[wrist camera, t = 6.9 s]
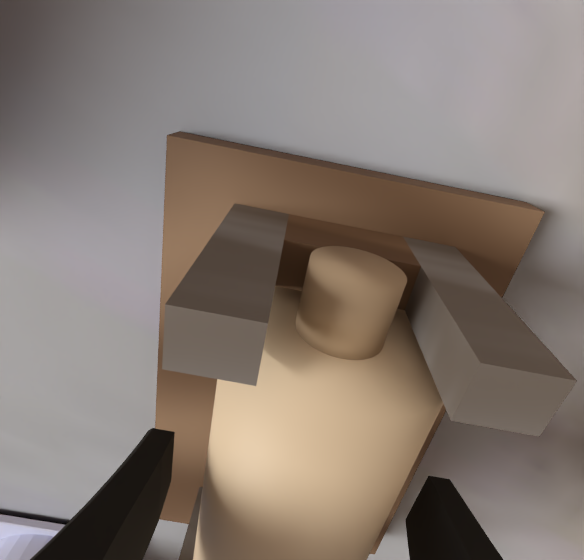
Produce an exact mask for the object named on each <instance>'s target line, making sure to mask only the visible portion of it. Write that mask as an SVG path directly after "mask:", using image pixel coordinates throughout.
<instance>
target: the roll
mask: <svg viewBox="0 0 584 560" xmlns="http://www.w3.org/2000/svg"><path fill="white" fill-rule="evenodd" d="M406 283H407V277H406V275H405V273H404V272H403V271H402V270H401V269H400V268H399V267H398V266H396V265H395V264H393V263H392V262H390V261H388V260H386V259H384V258H382V257H380V256H378V255H375V254H373V253H370V252H367V251H363V250H359V249H355V248H350V247H342V246H326V247H321V248H318V249H315V250H314V251H313V252H312V253H311V255H310V259H309V263H308V268H307V272H306V276H305V280H304V285H303V289H302V291H300V290H295V289H290V288H284V287H279V286H275V290H274V295H273V300H272V306H271V311H270V316H269V321H268V327H267V332H266V337H265V342H264V348H263V353H262V358H261V363H260V368H259V374H258V379H257V384H256V386H253V385H247V384H242V383H236V382H231V381H225V380H219V379H217V385H216V393H215V400H214V408H213V415H212V422H211V430H210V437H209V445H208V452H207V459H206V467H205V474H204V482H203V489H202V496H201V504H200V511H199V519H198V526H197V533H196V541H195V548H194V555H193V560H367V558H368V556H369V554H370V552H371V550H372V548H373V546H374V544H375V542H376V540H377V537H378V535H379V533H380V531H381V529H382V527H383V525H384V523H385V521H386V519H387V517H388V515H389V513H390V511H391V509H392V507H393V505H394V503H395V501H396V499H397V497H398V495H399V493H400V491H401V489H402V487H403V485H404V483H405V481H406V479H407V477H408V475H409V472H410V470H411V468H412V466H413V464H414V462H415V460H416V458H417V456H418V454H419V452H420V450H421V448H422V446H423V444H424V442H425V440H426V438H427V436H428V434H429V432H430V430H431V428H432V426H433V424H434V422H435V420H436V418H437V416H438V414H439V412H440V410H441V407H442V405H443V401H442V399H441V396H440V394H439V391H438V389H437V387H436V384H435V382H434V379H433V377H432V375H431V372H430V370H429V367H428V365H427V363H426V360H425V358H424V355H423V353H422V351H421V348H420V346H419V343H418V341H417V339H416V336H415V334H414V332H413V329H412V327H411V324H410V322H409V320H408V317H407V315H406V312H405V310H400V309H397V308H398V305H399V302H400V299H401V297H402V294H403V291H404V289H405V286H406Z"/></svg>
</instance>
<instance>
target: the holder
mask: <svg viewBox="0 0 584 560" xmlns="http://www.w3.org/2000/svg"><path fill="white" fill-rule="evenodd" d="M544 213H545V212H544V211H542V210H540V209H538V208H536V207H534V206H532V205H530V204H528V203H527V202H523V201H518V200H513V199H508V198H503V197H498V196H493V195H488V194H484V193H479V192H474V191H469V190H464V189H459V188H454V187H449V186H444V185H439V184H435V183H430V182H425V181H420V180H415V179H410V178H405V177H400V176H395V175H390V174H386V173H381V172H376V171H371V170H366V169H361V168H356V167H351V166H346V165H341V164H337V163H332V162H327V161H322V160H317V159H312V158H307V157H302V156H297V155H292V154H288V153H283V152H278V151H273V150H268V149H263V148H258V147H253V146H248V145H243V144H238V143H234V142H229V141H224V140H219V139H214V138H209V137H204V136H199V135H194V134H189V133H185V132H180V131H179V132H176V133H173V134H170V135H167V151H166V175H165V200H164V225H163V249H162V274H161V298H160V323H159V348H158V372H157V397H156V421H155V429H161V430H167V431H172V432H175V436H174V450H173V464H172V478H171V483H170V486H169V489H168V493H167V496H166V499H165V502H164V506H163V509H162V512H161V515H160V518H159V519H162V520H168V521H174V522H180V523H186V524H189V525H188V529H187V532H186V536H185V539H184V543H183V546H182V550H181V553H180V557H179V560H193V555H194V548H195V541H196V533H197V526H198V519H199V511H200V504H201V496H202V489H203V482H204V474H205V467H206V459H207V452H208V445H209V437H210V430H211V422H212V415H213V408H214V400H215V393H216V385H217V379H219V380H225V381H231V382H236V383H242V384H247V385H253V386H256V384H257V379H258V374H259V368H260V363H261V358H262V353H263V348H264V342H265V337H266V332H267V327H268V321H269V316H270V311H271V306H272V300H273V295H274V290H275V286H279V287H284V288H290V289H295V290H300V291H302V289H303V285H304V280H305V276H306V272H307V268H308V263H309V259H310V255H311V253H312V252H313V251H314V250H315V249H318V248H321V247H326V246H342V247H350V248H355V249H359V250H363V251H367V252H370V253H373V254H375V255H378V256H380V257H382V258H384V259H386V260H388V261H390V262H392V263H393V264H395V265H396V266H398V267H399V268H400V269H401V270H402V271H403V272H404V273H405V275H406V277H407V283H406V286H405V289H404V291H403V294H402V297H401V299H400V302H399V305H398V308H397V309H400V310H405V312H406V315H407V317H408V320H409V322H410V324H411V327H412V329H413V332H414V334H415V336H416V339H417V341H418V343H419V346H420V348H421V351H422V353H423V355H424V358H425V360H426V363H427V365H428V367H429V370H430V372H431V375H432V377H433V379H434V382H435V384H436V387H437V389H438V391H439V394H440V396H441V399H442V401H443V405H442V407H441V410H440V412H439V414H438V416H437V418H436V420H435V422H434V424H433V426H432V428H431V430H430V432H429V434H428V436H427V438H426V440H425V442H424V444H423V446H422V448H421V450H420V452H419V454H418V456H417V458H416V460H415V462H414V464H413V466H412V468H411V470H410V472H409V475H408V477H407V479H406V481H405V483H404V485H403V487H402V489H401V491H400V493H399V495H398V497H397V499H396V501H395V503H394V505H393V507H392V509H391V511H390V513H389V515H388V517H387V519H386V521H385V523H384V525H383V527H382V529H381V531H380V533H379V535H378V537H377V540H376V542H375V544H374V546H373V548H372V550H371V552H370V554H375V553H376V551H377V549H378V546H379V544H380V542H381V540H382V538H383V536H384V534H385V532H386V530H387V528H388V526H389V524H390V522H391V520H392V518H393V516H394V514H395V512H396V510H397V508H398V506H399V504H400V502H401V500H402V498H403V496H404V494H405V492H406V490H407V488H408V486H409V484H410V482H411V480H412V478H413V476H414V474H415V472H416V470H417V468H418V466H419V464H420V462H421V460H422V458H423V456H424V454H425V452H426V450H427V448H428V446H429V444H430V442H431V440H432V438H433V436H434V434H435V432H436V430H437V428H438V426H439V424H440V422H441V420H442V418H443V416H444V414H445V412H446V411H447V413H448V415H449V418H450V420H451V421H454V422H459V423H465V424H471V425H476V426H482V427H487V428H493V429H499V430H504V431H510V432H515V433H521V434H526V435H532V436H538V437H540V435H541V434H542V432H543V431H544V429H545V428H546V426H547V425H548V423H549V422H550V420H551V419H552V417H553V416H554V414H555V413H556V411H557V410H558V408H559V407H560V405H561V404H562V402H563V401H564V399H565V398H566V396H567V395H568V393H569V392H570V390H571V389H572V387H573V386H574V385H575V383H576V382H577V380H576V379H575V378H574V377H573V376H572V375H571V374H570V373H569V372H568V370H567V369H566V368H565V367H564V366H563V365H562V364H561V363H560V362H559V361H558V359H557V358H556V357H555V356H554V355H553V354H552V353H551V352H550V351H549V350H548V348H547V347H546V346H545V345H544V344H543V343H542V342H541V341H540V340H539V339H538V337H537V336H536V335H535V334H534V333H533V332H532V331H531V330H530V329H529V328H528V326H527V325H526V324H525V323H524V322H523V321H522V320H521V319H520V318H519V317H518V315H517V314H516V313H515V312H514V311H513V310H512V309H511V308H510V307H509V306H508V304H507V303H506V302H505V301H504V300H503V299H502V297H503V295H504V293H505V291H506V289H507V287H508V285H509V283H510V281H511V279H512V277H513V275H514V273H515V271H516V269H517V267H518V265H519V263H520V261H521V259H522V257H523V255H524V253H525V251H526V249H527V247H528V245H529V243H530V241H531V239H532V237H533V235H534V233H535V231H536V229H537V227H538V225H539V223H540V221H541V219H542V217H543V215H544Z"/></svg>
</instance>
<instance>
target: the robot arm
mask: <svg viewBox="0 0 584 560" xmlns="http://www.w3.org/2000/svg"><path fill="white" fill-rule="evenodd" d="M174 436H175V432H172V431H167V430H161V429H155V428H152V429H150V430H149V431H148V432H147V433H146V435H145V436H144V437H143V439H142V440H141V441H140V443H139V444H138V445H137V446H136V448H135V449H134V450H133V451H132V453H131V454H130V455H129V456H128V458H127V459H126V460H125V461H124V462H123V463H122V465H121V466H120V467H119V468H118V469H117V471H116V472H115V473H114V474H113V475H112V476H111V477H110V478H109V480H108V481H107V482H106V483H105V484H104V485H103V486H102V487H101V488H100V490H99V491H98V492H97V493H96V494H95V495H94V496H93V497H92V498H91V499H90V500H89V502H88V503H87V504H86V505H85V506H84V507H83V508H82V509H81V510H80V511H79V512H78V513H77V514H76V515H75V516H74V517H73V518H72V519H71V520H70V521H69V522H68V523H67V524H66V525H64V524H58V523H52V522H46V521H40V520H33V519H27V518H21V517H15V516H9V515H2V514H0V560H142V559H143V557H144V555H145V552H146V550H147V548H148V545H149V543H150V540H151V538H152V536H153V533H154V531H155V528H156V526H157V523H158V521H159V518H160V515H161V512H162V509H163V506H164V502H165V499H166V496H167V493H168V489H169V486H170V483H171V478H172V464H173V450H174ZM406 529H407V538H408V547H409V555H410V560H503V558H502V557H501V556H500V554H499V553H498V551H497V550H496V548H495V547H494V545H493V544H492V543H491V541H490V540H489V538H488V537H487V535H486V534H485V532H484V531H483V529H482V528H481V526H480V525H479V523H478V522H477V520H476V519H475V517H474V516H473V514H472V513H471V511H470V509H469V508H468V506H467V505H466V503H465V502H464V500H463V499H462V497H461V496H460V494H459V493H458V491H457V490H456V488H455V487H454V485H453V484H452V482H451V481H450V479H444V478H438V477H433V476H428V478H427V480H426V482H425V484H424V486H423V488H422V489H421V491H420V493H419V495H418V497H417V499H416V501H415V503H414V505H413V507H412V509H411V510H410V512H409V514H408V516H407V518H406Z"/></svg>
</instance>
